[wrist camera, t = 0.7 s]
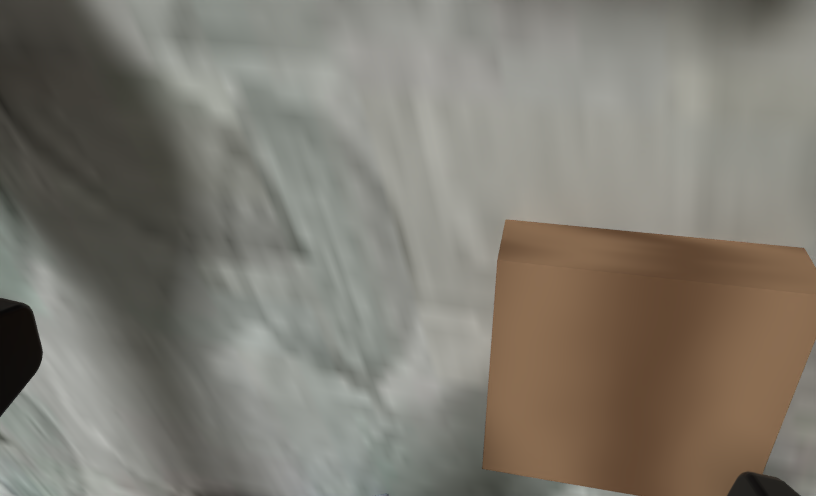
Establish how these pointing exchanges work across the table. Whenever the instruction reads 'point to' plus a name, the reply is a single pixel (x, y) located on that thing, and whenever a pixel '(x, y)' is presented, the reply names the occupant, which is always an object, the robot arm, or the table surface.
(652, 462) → the pedestal
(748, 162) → the table surface
